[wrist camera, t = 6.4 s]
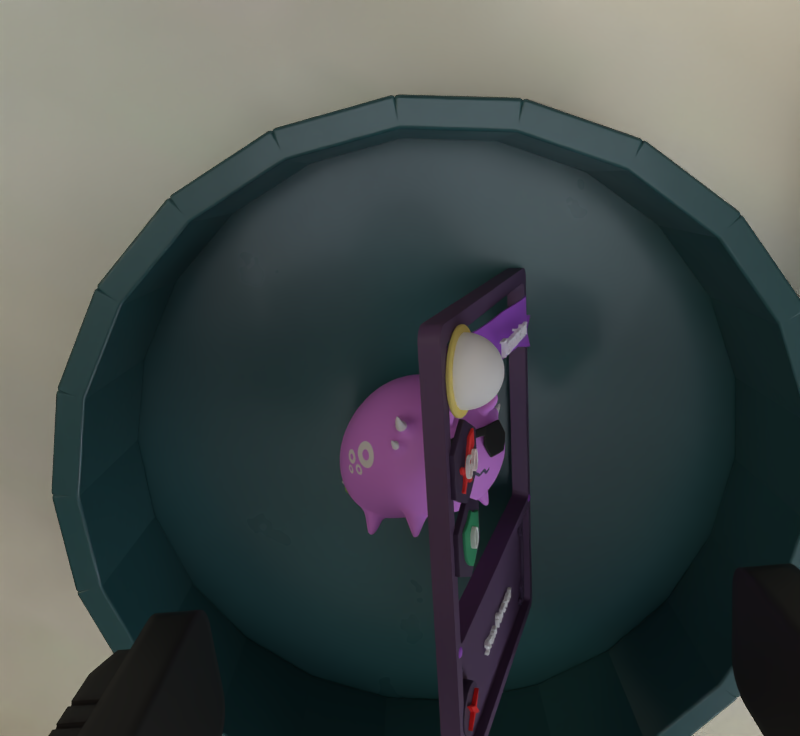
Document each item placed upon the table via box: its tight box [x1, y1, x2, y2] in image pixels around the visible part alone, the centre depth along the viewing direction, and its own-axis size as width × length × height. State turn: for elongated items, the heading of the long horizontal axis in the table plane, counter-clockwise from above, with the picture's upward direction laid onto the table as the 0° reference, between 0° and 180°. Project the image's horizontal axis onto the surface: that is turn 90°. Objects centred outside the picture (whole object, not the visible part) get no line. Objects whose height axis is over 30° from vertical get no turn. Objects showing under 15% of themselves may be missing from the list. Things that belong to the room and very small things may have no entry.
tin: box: [52, 95, 800, 736], centre depth 17 cm, size 16×16×4 cm
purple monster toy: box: [340, 268, 532, 736], centre depth 16 cm, size 7×5×9 cm
